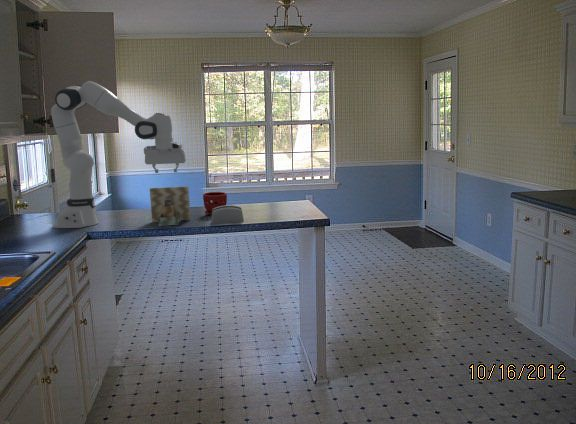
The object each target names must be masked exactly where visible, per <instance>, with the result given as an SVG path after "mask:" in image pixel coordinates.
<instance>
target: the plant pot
mask: <svg viewBox="0 0 576 424" xmlns="http://www.w3.org/2000/svg"><path fill="white" fill-rule="evenodd" d="M227 195H228V194H227V192H222V191H209V192H205V193H204V192H203V194H202V199H203V205H204V209H205V210H204V213H205V215H207V216H211V217H212V210H213V209H214V208H216V207H219V206H224V205H227V203H228V202H227V201H228V197H227Z"/></svg>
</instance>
